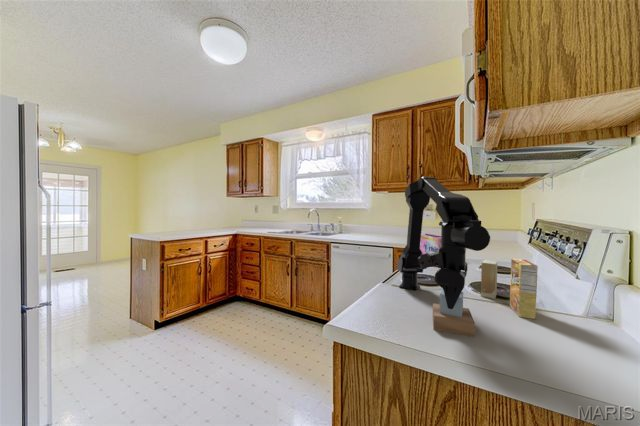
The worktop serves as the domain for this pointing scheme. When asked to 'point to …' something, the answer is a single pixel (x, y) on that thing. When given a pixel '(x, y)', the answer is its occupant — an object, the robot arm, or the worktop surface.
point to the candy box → (523, 288)
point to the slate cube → (457, 308)
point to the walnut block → (453, 322)
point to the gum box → (430, 243)
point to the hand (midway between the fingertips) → (452, 302)
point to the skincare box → (489, 279)
